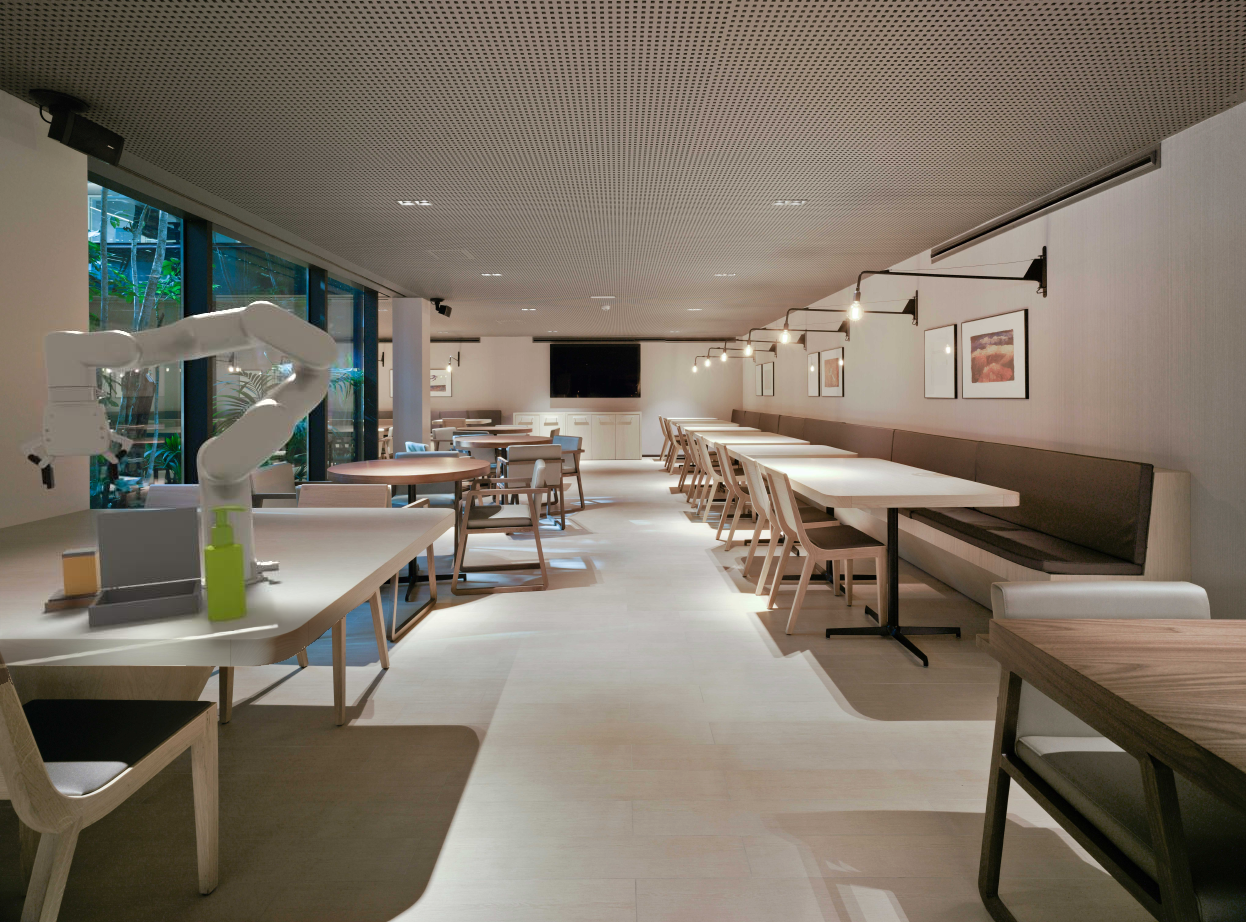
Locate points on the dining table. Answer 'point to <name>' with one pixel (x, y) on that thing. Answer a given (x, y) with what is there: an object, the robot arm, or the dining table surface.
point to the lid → (148, 546)
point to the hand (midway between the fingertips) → (82, 486)
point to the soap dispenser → (224, 570)
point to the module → (81, 571)
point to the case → (145, 603)
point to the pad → (70, 600)
